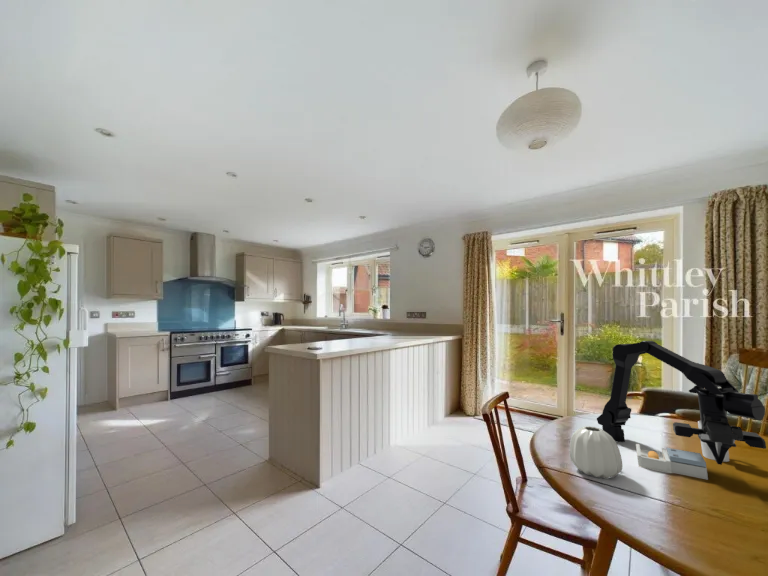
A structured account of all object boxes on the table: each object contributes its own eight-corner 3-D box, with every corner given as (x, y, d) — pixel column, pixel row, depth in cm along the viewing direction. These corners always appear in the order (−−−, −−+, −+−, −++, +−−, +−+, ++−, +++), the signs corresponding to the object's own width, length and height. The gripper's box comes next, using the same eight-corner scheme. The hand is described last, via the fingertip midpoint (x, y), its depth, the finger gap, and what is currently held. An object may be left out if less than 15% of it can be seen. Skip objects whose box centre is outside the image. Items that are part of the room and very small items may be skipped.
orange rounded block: (649, 466, 101) (649, 457, 101) (648, 458, 107) (647, 449, 107) (661, 469, 99) (660, 460, 99) (658, 460, 105) (658, 452, 105)
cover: (670, 460, 97) (669, 455, 97) (667, 451, 104) (666, 447, 104) (706, 467, 92) (705, 461, 93) (700, 457, 99) (700, 452, 99)
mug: (729, 466, 102) (724, 428, 103) (700, 459, 107) (695, 423, 108) (733, 457, 108) (728, 422, 109) (705, 451, 113) (701, 417, 114)
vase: (606, 487, 90) (602, 439, 92) (561, 468, 103) (558, 425, 104) (633, 477, 96) (628, 431, 97) (587, 459, 108) (584, 419, 110)
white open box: (639, 469, 101) (637, 456, 101) (636, 450, 115) (635, 439, 115) (709, 483, 91) (707, 469, 92) (696, 461, 105) (695, 449, 106)
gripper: (675, 411, 94) (681, 466, 93) (769, 423, 83) (778, 484, 82) (670, 403, 103) (675, 453, 102) (754, 413, 92) (762, 468, 91)
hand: (719, 464), depth 94 cm, fingers closed
